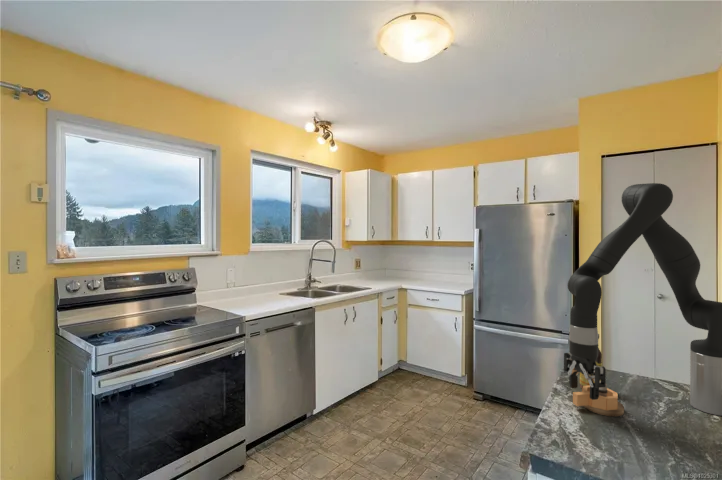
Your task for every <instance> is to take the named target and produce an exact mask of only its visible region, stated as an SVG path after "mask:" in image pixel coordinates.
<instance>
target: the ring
mask: <svg viewBox="0 0 722 480" xmlns="http://www.w3.org/2000/svg"><path fill="white" fill-rule="evenodd" d="M618 399H619V398H618V392H616V391H614V390H612V389H610V388H608V387H607V397H603V396H599V398H598V399H596V400H592V399H590V385H589V386H583V388H582V389H581V391H574V392H572V404H573V405H574V406H576V407H583V406H587V405H589V406H591V407H594V408H598V409H603V410H617V409H618V402H619V400H618Z"/></svg>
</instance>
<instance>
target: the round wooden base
mask: <svg viewBox="0 0 722 480" xmlns="http://www.w3.org/2000/svg"><path fill="white" fill-rule="evenodd" d="M600 383H601V381H600ZM607 388H608V384H607V383H606V387H601V388H599V396H603V397H607ZM582 407H583V408H585V409H586V410H587V411H590V412H592V413H594V414H598V415H601V416H607V417H620V416H623V415H624V413H625V407H624V405H623V403H621V402H620V401H618V409H617V410H603V409H598V408H594V407H591V406H589V405H587V406H582Z"/></svg>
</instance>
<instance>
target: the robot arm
mask: <svg viewBox="0 0 722 480" xmlns="http://www.w3.org/2000/svg"><path fill="white" fill-rule="evenodd" d="M673 199H674V195H673V191H672V189H671V187H670V186H668V185H666V184H664V183H658V182H657V183H656V182H653V183H652V182H651V183H636V184H632V185H631V184H630V186H629V185H628V186H627V187H626V188H625V189H624V190H623V192H622V195H621V204H622V206H623V209H624V210H625V212H626V213H627V214H628V217H627V219H625V221H623V223H622V224H620V225H619V226H618V227H616V228H615V229H613V230H612V231H611V232H610V233H609V234H608V235H606V236H605V237H604V238H603V239H602V240H601V241H600V242H599V243H598V244H597V245H596V246H595V248H594V249H593V251H592V252H591V253H590V255H589V257H588V258H587V260H585V261H584V263H582V264H581V265H580V266H579V267H578V268H577V269H576V270H575V271H574V272H573V273H572V275H571V276H570V277H569V279H568V281H567V289H568V291H569V292H570V293H571V294H572V295H573V296H574V297H575V300H574V306H572V307H570V311H569V312H570V313H569V314H570V316H569V318H570V325H569V333H568V334H569V335H568V337H569V339H568V340H569V350H568V351H569V352H564V353H563V371H564V372H567V375H568V376H569V378H568V380H569V381H568V382H569V383H568V384H569V387H570V388H571V389H576V388H578V387H579V386H578V383H579V382H578V380H579V379H578V377H579V376H578V374H580V372H581V373H582V374H583V375H584V376H585V378H586V379H587V380H588V381H589V384H590V399H592V400H596V399H598V398H599V388H601V387H606V384H607V383H606V382H607V381H606V377H607V376H606V375H607V374H606V373H607V371H606V370H607V369H606V367H605V366H602V367H600V366H597V364H596V361H595V360H596V358H597V357H598V348H599V346H598V345H599V339H598V334H599V331H598V311H599V308H600V305H601V299H602V287H601V283H600V279H601V278H602V277H604V276H607V275H609V274H610V273H612V271H613V270H614V269H615V267H616V266H617V265H618V264H619V262H620V261H621V259H622V258H623V257H624V255H625V254H626V253H627V251H629V249H630V248H631V247H632V245H633V244H634V243H635V242H636V241H637V240H638V239H639V238H640V237H641V236H642V237H643V239H644V240H645V242H646V244H647V246H648V248H649V250H651V252H652V255H653V257H654V259H655V261H656V262H657V263H656V264H658V266H659V267H660V270H661V271H662V273H663V275H664V276H665V279H666V280H667V282H668V284H669V286H670V288H671V290H672V292H673V295H674V297H675V299H676V301H677V304H678V307H679V310H680V312H681V315H682V316H683V319H684V320H685V321H686V323H687V325H688V324H689V325H690V326H691V327H694V328H696V329H700V330H704V331H707V336H706V338H703V339H693V340H691V342H690V348H689V349H690V350H689V351H690V354H689V355H690V356H689V358H690V359H689V360H690V361H689V363H690V365H689V367H690V368H689V369H690V370H689V371H690V372H689V373H690V375H689V382H690V383H689V389H690V390H689V398H690V399H689V404H690V406H691V407H692V408H694V409H696V410H698V411H701V412H704V413H707V414H711V415H715V416H722V302H721V301H716V300H709V299H706V298H705V299H704V298H703V296H702V295H701V294H700V293H701V292H699V290H698V287H697V284H696V282H697V279H698V276H699V275H700V271H701V261H700V259H699V257H698V255H697V253H696V251H695V250H694V248H693V246H692V245H691V243H690V241H688V239H686V238H685V237H684V236H683V234H680V232H679V231H677V230H676V229H675V228H674V227H672V226H671V225H670V224H669V223H668V222H667V221H666V220H665V218H663V216H662V215H663V214H665V213H666V211H667V210H668V209H669V208H670V206H671V205H672V203H673ZM590 374H593V376H590ZM592 379H594V381H595V383H593V380H592ZM600 380H601V383H600Z"/></svg>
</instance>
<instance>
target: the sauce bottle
mask: <svg viewBox="0 0 722 480" xmlns="http://www.w3.org/2000/svg"><path fill="white" fill-rule="evenodd" d="M599 339H600V334H599V333H598V340H599ZM602 356H603V354H602V351H601V349H600V348H599V344H598V357H597V358H596V360H595V361H596V364H597V366H600V367H603V361H602V360H603V359H602ZM590 376H593V374H590ZM592 380H593V383H595V381H594V379H592ZM600 381H601V380H600ZM578 383H579V387H580V389H581V390H582V388H583V386H589V385H590V384H589V381H588V380H587V379H586V378H585V376H584V375H583V374H582V373H581V372H579V382H578Z"/></svg>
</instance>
